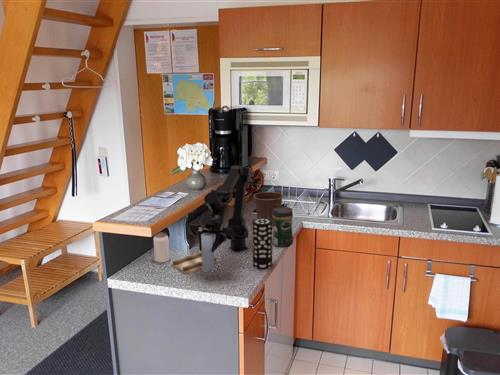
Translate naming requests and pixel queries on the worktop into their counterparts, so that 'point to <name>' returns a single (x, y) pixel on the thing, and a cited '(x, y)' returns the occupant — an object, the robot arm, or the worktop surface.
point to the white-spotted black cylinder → (262, 243)
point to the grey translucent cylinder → (207, 250)
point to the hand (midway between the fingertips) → (206, 251)
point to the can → (161, 248)
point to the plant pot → (267, 204)
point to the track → (190, 263)
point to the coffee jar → (282, 226)
